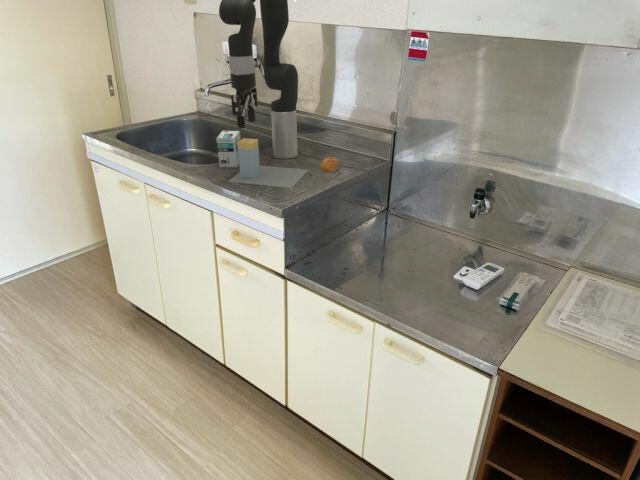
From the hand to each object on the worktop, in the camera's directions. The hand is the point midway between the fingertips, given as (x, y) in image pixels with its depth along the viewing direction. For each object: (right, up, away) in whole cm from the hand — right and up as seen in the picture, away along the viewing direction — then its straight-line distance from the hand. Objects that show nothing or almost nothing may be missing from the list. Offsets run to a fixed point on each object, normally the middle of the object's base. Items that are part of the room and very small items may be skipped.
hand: (246, 124), depth 154 cm
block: (0, -15, +8) cm, 17 cm away
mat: (+6, -16, +8) cm, 19 cm away
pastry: (+27, -13, +15) cm, 33 cm away
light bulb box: (-9, -9, +22) cm, 25 cm away
